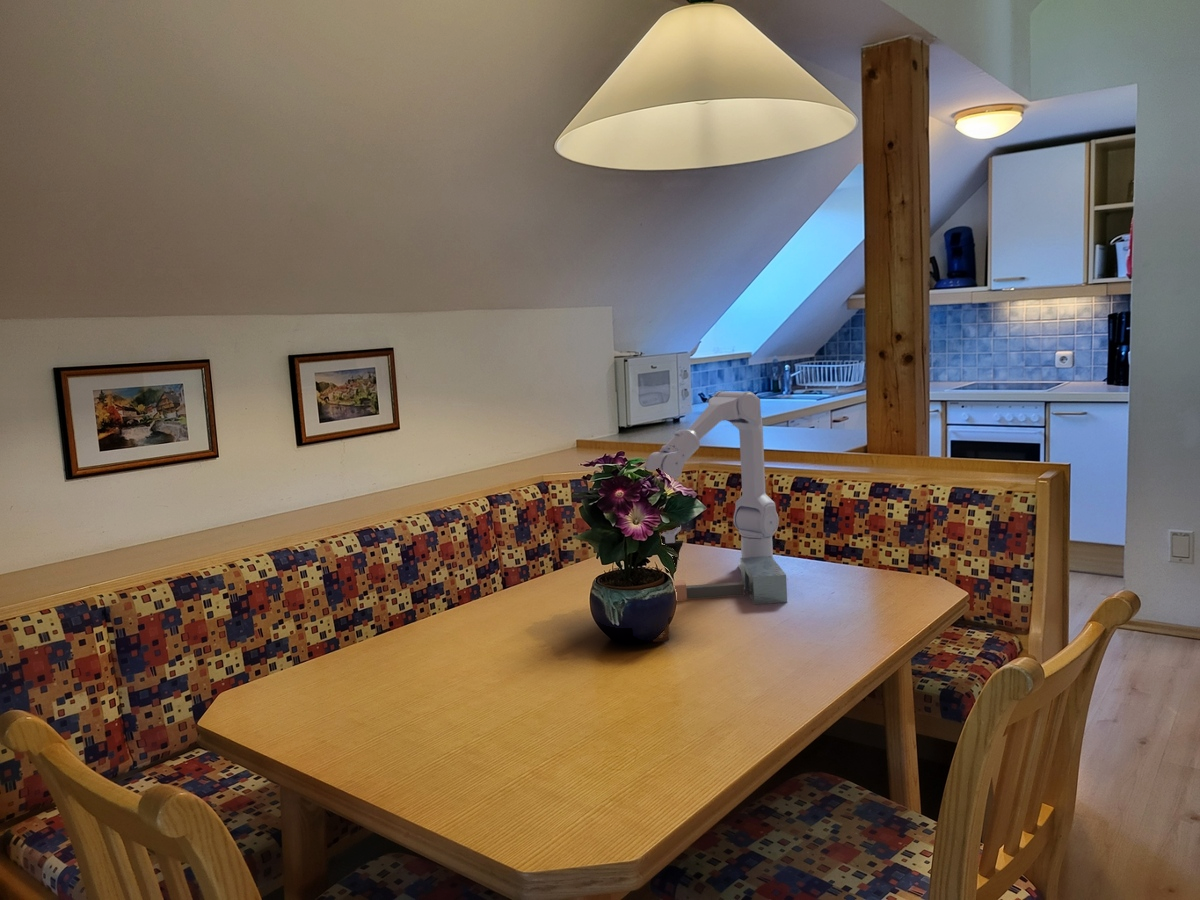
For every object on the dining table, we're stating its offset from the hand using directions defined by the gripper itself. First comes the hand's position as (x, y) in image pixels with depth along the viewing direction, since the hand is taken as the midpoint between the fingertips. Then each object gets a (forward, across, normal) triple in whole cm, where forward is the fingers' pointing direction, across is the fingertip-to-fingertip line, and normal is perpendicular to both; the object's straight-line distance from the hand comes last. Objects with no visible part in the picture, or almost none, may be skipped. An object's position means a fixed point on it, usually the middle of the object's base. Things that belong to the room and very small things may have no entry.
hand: (669, 567), depth 202 cm
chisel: (+7, 0, +7) cm, 10 cm away
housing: (+7, 0, +20) cm, 22 cm away
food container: (+7, +23, -8) cm, 25 cm away
